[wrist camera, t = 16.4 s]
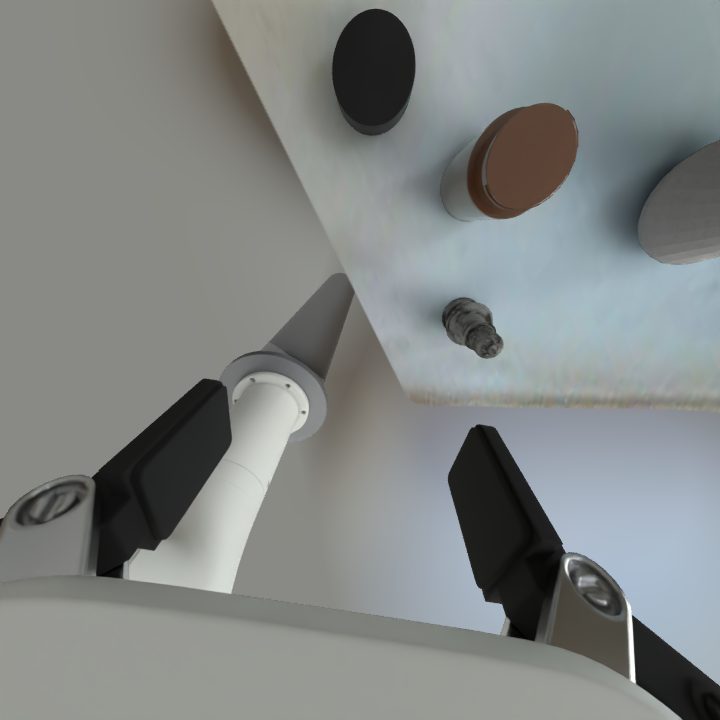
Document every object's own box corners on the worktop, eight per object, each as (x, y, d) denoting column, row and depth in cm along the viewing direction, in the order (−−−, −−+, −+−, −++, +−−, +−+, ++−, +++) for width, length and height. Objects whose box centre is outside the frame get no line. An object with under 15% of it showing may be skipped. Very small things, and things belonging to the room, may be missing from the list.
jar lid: (369, 5, 23) (368, -22, 21) (428, 77, 25) (434, 60, 23) (322, 95, 26) (316, 81, 24) (377, 153, 28) (377, 146, 26)
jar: (468, 234, 31) (517, 239, 20) (426, 190, 30) (456, 169, 18) (519, 179, 28) (609, 149, 17) (477, 126, 27) (547, 57, 16)
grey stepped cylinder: (431, 317, 36) (453, 354, 26) (465, 286, 34) (505, 313, 24) (457, 343, 38) (488, 388, 27) (491, 315, 36) (539, 353, 25)
